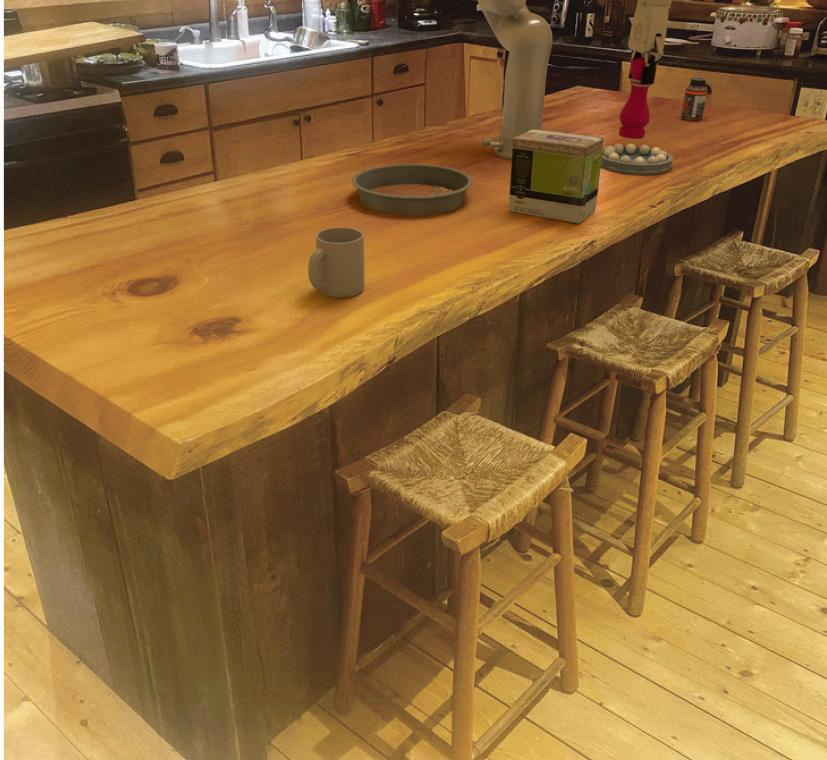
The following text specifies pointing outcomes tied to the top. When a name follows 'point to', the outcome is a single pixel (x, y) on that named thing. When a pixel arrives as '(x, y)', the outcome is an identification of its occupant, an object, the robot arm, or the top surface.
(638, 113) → the pepper mill
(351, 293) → the cup
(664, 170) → the bead tray
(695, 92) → the supplement bottle
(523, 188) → the tea box
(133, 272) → the top surface
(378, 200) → the cake pan
